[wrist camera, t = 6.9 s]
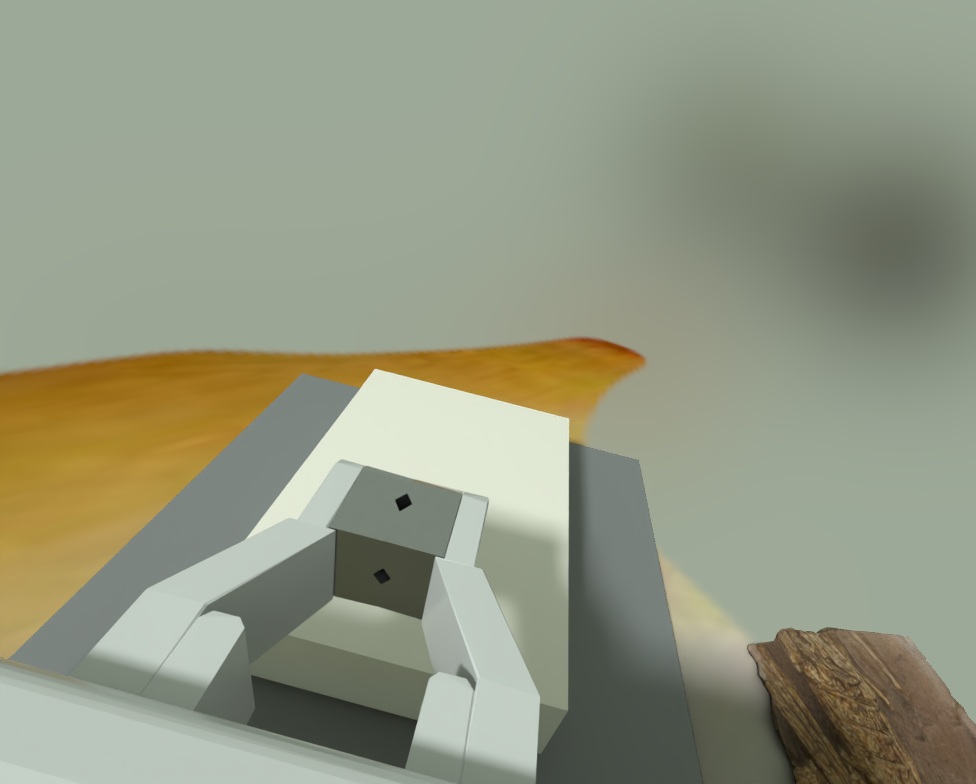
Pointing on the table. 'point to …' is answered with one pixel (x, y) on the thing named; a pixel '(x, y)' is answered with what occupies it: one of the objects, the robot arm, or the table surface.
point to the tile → (502, 554)
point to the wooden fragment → (864, 710)
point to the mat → (388, 737)
